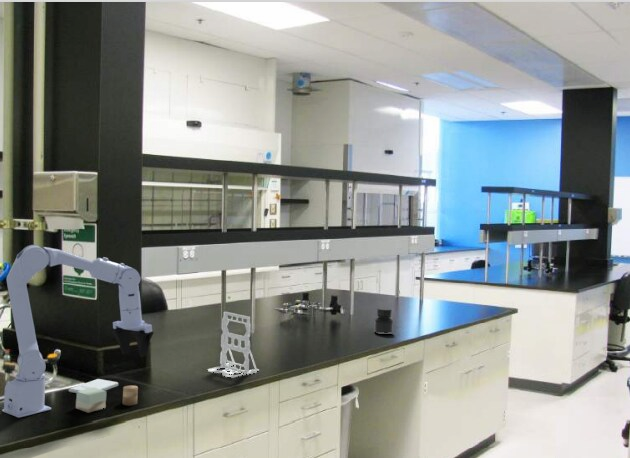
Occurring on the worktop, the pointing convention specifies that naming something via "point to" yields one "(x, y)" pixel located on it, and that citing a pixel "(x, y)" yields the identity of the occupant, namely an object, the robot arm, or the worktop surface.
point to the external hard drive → (95, 385)
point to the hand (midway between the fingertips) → (134, 354)
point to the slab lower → (90, 406)
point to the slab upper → (91, 395)
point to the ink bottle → (383, 320)
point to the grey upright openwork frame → (234, 348)
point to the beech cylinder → (130, 395)
